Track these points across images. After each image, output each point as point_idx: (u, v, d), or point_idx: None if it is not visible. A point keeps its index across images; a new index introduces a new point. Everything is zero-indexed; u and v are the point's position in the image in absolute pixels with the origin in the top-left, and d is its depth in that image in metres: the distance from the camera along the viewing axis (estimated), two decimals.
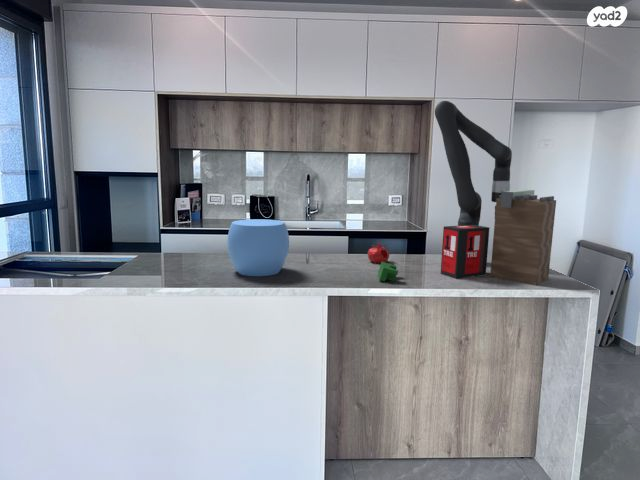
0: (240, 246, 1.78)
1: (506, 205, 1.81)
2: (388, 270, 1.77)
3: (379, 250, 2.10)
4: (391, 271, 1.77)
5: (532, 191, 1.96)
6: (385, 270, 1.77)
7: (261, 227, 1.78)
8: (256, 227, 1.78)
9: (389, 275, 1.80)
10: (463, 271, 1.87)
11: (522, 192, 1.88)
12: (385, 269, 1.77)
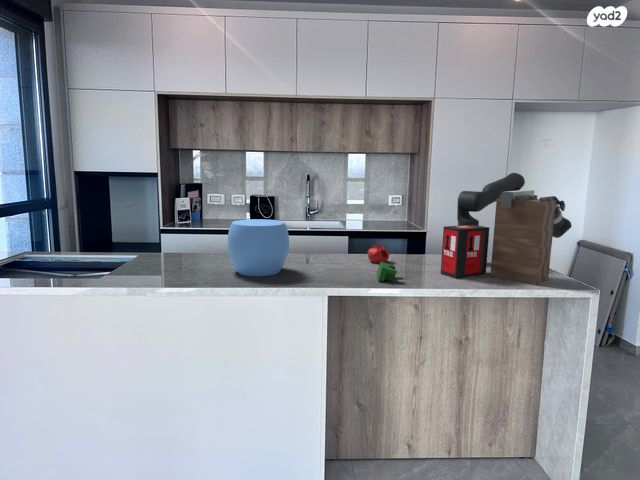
0: (240, 246, 1.78)
1: (506, 205, 1.81)
2: (387, 270, 1.77)
3: (379, 250, 2.09)
4: (390, 271, 1.77)
5: (532, 191, 1.96)
6: (384, 270, 1.77)
7: (261, 227, 1.78)
8: (256, 227, 1.78)
9: (388, 275, 1.80)
10: (463, 271, 1.87)
11: (522, 192, 1.88)
12: (384, 269, 1.77)
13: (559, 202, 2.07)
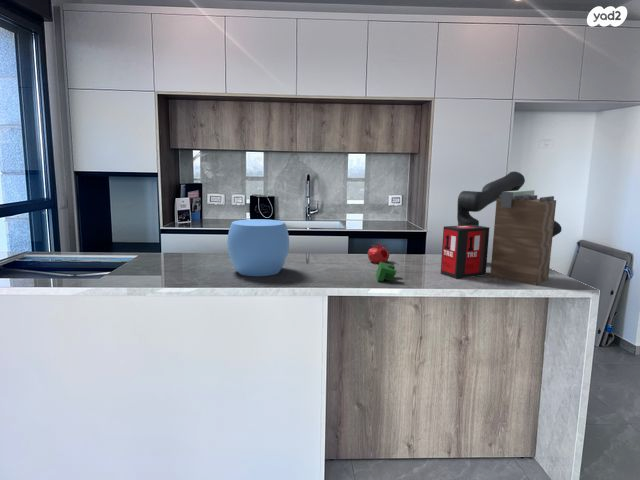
0: (240, 246, 1.78)
1: (506, 205, 1.81)
2: (386, 270, 1.77)
3: (379, 250, 2.09)
4: (389, 271, 1.77)
5: (532, 191, 1.96)
6: (383, 270, 1.77)
7: (261, 227, 1.78)
8: (256, 227, 1.78)
9: (387, 275, 1.80)
10: (463, 271, 1.87)
11: (522, 192, 1.88)
12: (383, 269, 1.77)
13: None
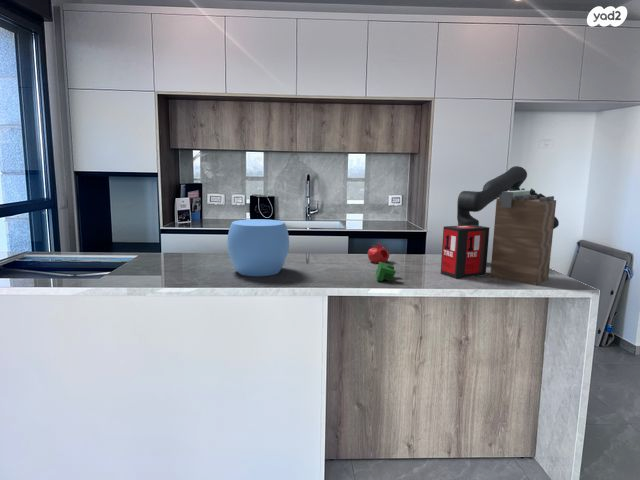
0: (240, 246, 1.78)
1: (506, 205, 1.81)
2: (386, 270, 1.77)
3: (379, 250, 2.10)
4: (389, 271, 1.77)
5: None
6: (383, 270, 1.77)
7: (261, 227, 1.78)
8: (256, 227, 1.78)
9: (387, 275, 1.80)
10: (463, 271, 1.87)
11: (522, 192, 1.88)
12: (383, 269, 1.77)
13: (537, 195, 1.96)
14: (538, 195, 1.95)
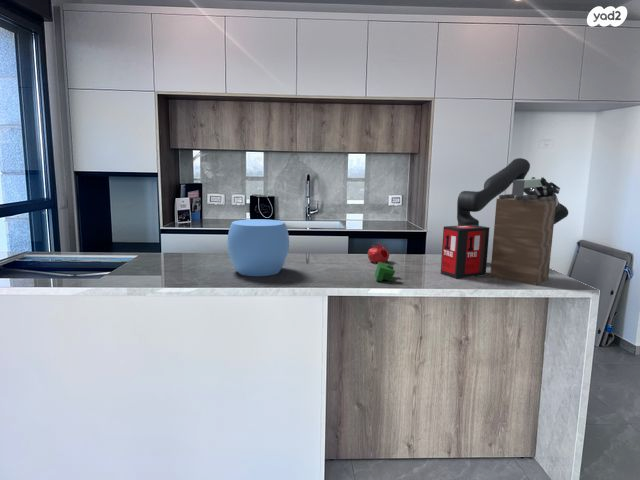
0: (240, 246, 1.78)
1: (518, 193, 1.77)
2: (385, 270, 1.77)
3: (379, 250, 2.10)
4: (388, 271, 1.77)
5: None
6: (382, 270, 1.77)
7: (261, 227, 1.78)
8: (256, 227, 1.78)
9: (386, 275, 1.80)
10: (463, 271, 1.87)
11: (533, 180, 1.84)
12: (382, 269, 1.77)
13: (548, 184, 1.92)
14: (549, 184, 1.92)
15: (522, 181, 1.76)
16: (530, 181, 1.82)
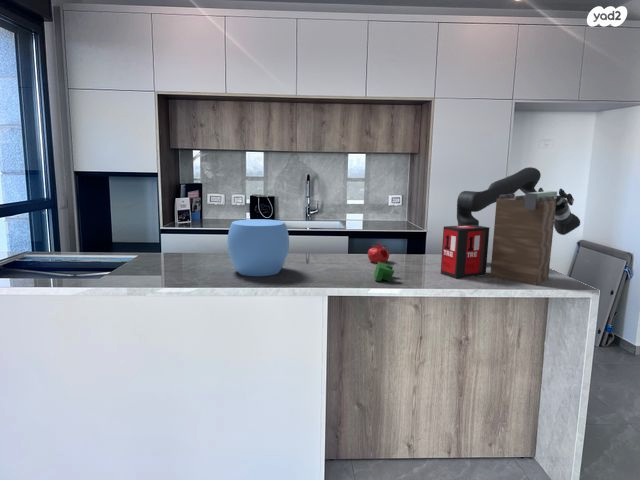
0: (240, 246, 1.78)
1: (530, 207, 1.75)
2: (384, 270, 1.77)
3: (379, 250, 2.10)
4: (387, 271, 1.77)
5: (555, 192, 1.90)
6: (381, 270, 1.77)
7: (261, 227, 1.78)
8: (256, 227, 1.78)
9: (385, 275, 1.80)
10: (463, 271, 1.87)
11: (546, 193, 1.82)
12: (381, 269, 1.77)
13: (566, 195, 1.88)
14: (567, 195, 1.88)
15: (535, 194, 1.73)
16: (542, 194, 1.79)
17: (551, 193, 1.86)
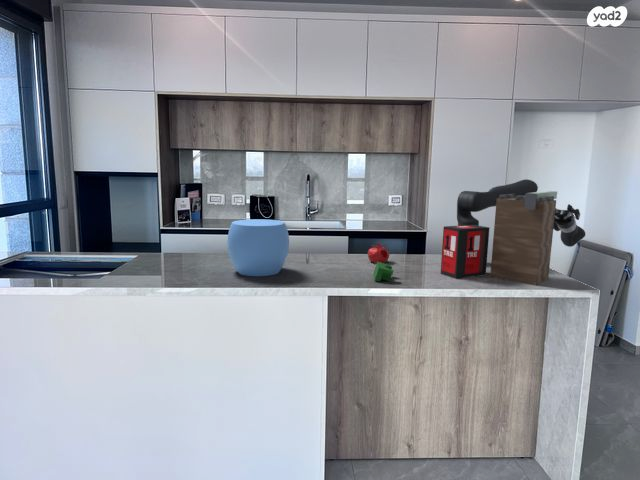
0: (240, 246, 1.78)
1: (530, 207, 1.75)
2: (383, 270, 1.77)
3: (379, 250, 2.09)
4: (386, 271, 1.77)
5: (555, 192, 1.90)
6: (380, 270, 1.77)
7: (261, 227, 1.78)
8: (256, 227, 1.78)
9: (384, 275, 1.80)
10: (463, 271, 1.87)
11: (546, 193, 1.82)
12: (380, 269, 1.77)
13: (574, 211, 1.98)
14: (575, 210, 1.98)
15: (535, 194, 1.73)
16: (542, 194, 1.79)
17: (551, 193, 1.86)
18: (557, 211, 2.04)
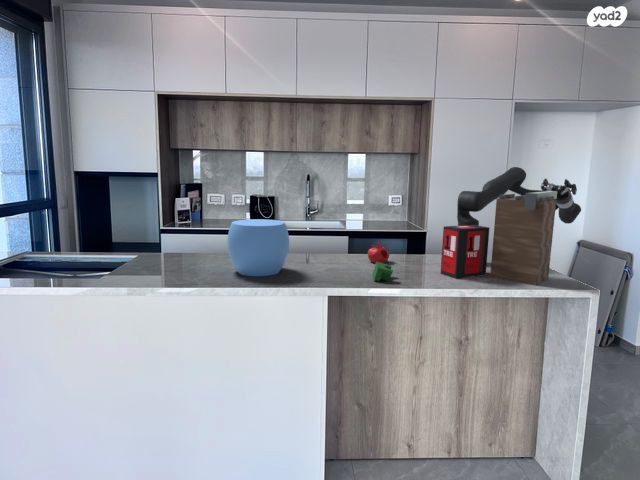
0: (240, 246, 1.78)
1: (530, 207, 1.75)
2: (383, 270, 1.77)
3: (379, 250, 2.10)
4: (386, 271, 1.77)
5: (555, 192, 1.90)
6: (380, 270, 1.77)
7: (261, 227, 1.78)
8: (256, 227, 1.78)
9: (384, 275, 1.80)
10: (463, 271, 1.87)
11: (546, 193, 1.82)
12: (380, 269, 1.77)
13: (571, 185, 2.06)
14: (572, 185, 2.06)
15: (535, 194, 1.73)
16: (542, 194, 1.79)
17: (551, 193, 1.86)
18: (555, 187, 2.12)
